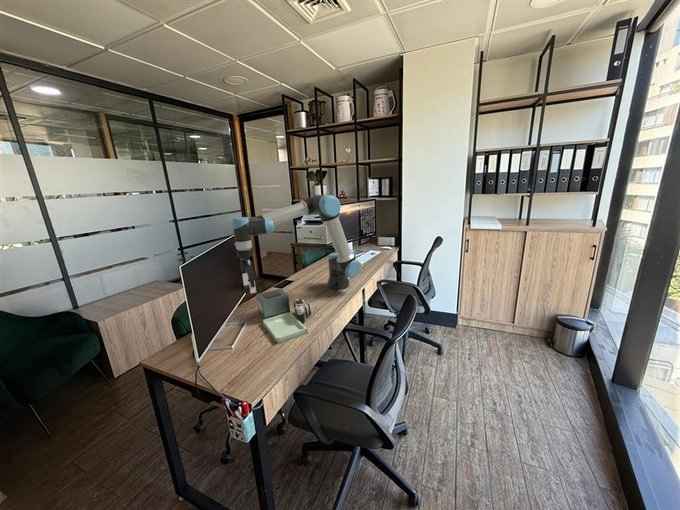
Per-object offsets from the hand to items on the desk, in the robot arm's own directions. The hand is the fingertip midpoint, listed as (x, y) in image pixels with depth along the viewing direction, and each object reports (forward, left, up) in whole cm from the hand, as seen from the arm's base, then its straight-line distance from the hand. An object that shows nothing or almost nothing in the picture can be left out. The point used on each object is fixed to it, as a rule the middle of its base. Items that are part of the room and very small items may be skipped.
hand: (249, 288), depth 143 cm
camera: (-23, +13, -19) cm, 32 cm away
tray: (-10, +18, -18) cm, 28 cm away
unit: (-11, 0, -18) cm, 21 cm away
